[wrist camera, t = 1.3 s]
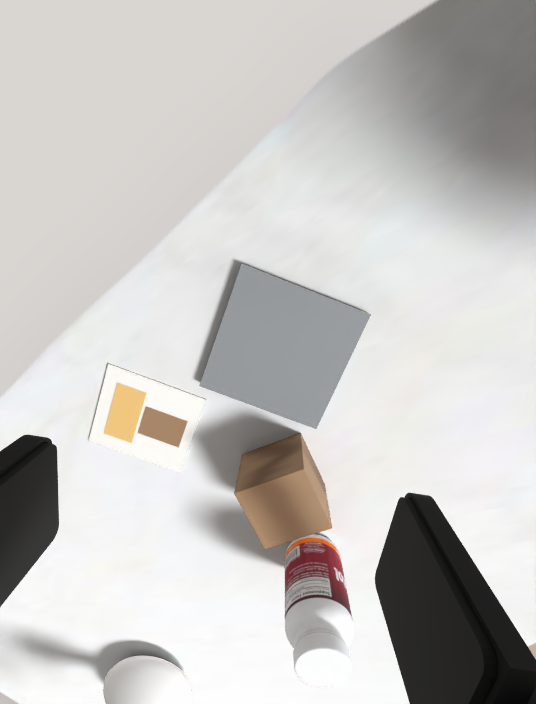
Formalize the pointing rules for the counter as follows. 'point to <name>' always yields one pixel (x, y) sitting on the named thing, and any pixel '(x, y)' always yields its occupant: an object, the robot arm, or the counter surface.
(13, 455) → the robot arm
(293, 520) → the walnut block
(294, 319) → the slate plate
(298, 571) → the pill bottle
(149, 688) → the flower in vase
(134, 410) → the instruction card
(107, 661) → the counter surface
